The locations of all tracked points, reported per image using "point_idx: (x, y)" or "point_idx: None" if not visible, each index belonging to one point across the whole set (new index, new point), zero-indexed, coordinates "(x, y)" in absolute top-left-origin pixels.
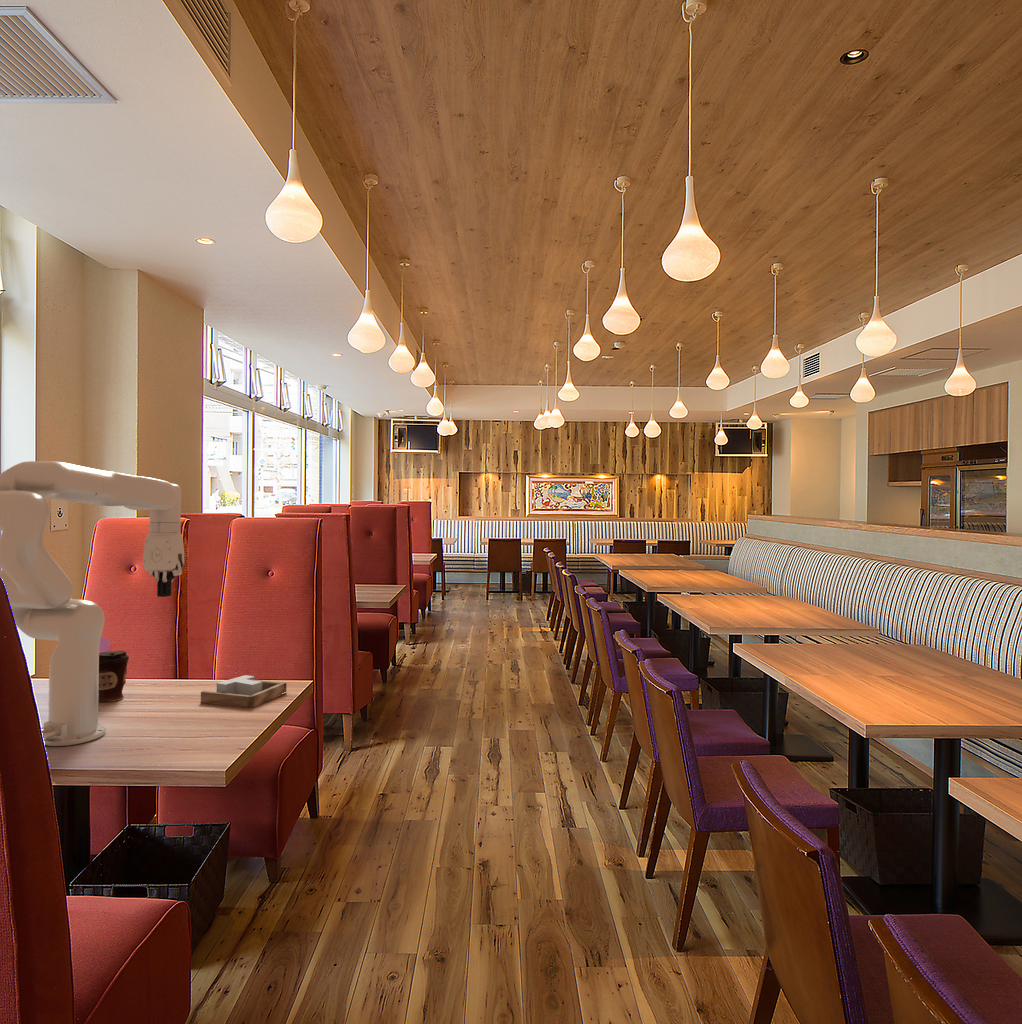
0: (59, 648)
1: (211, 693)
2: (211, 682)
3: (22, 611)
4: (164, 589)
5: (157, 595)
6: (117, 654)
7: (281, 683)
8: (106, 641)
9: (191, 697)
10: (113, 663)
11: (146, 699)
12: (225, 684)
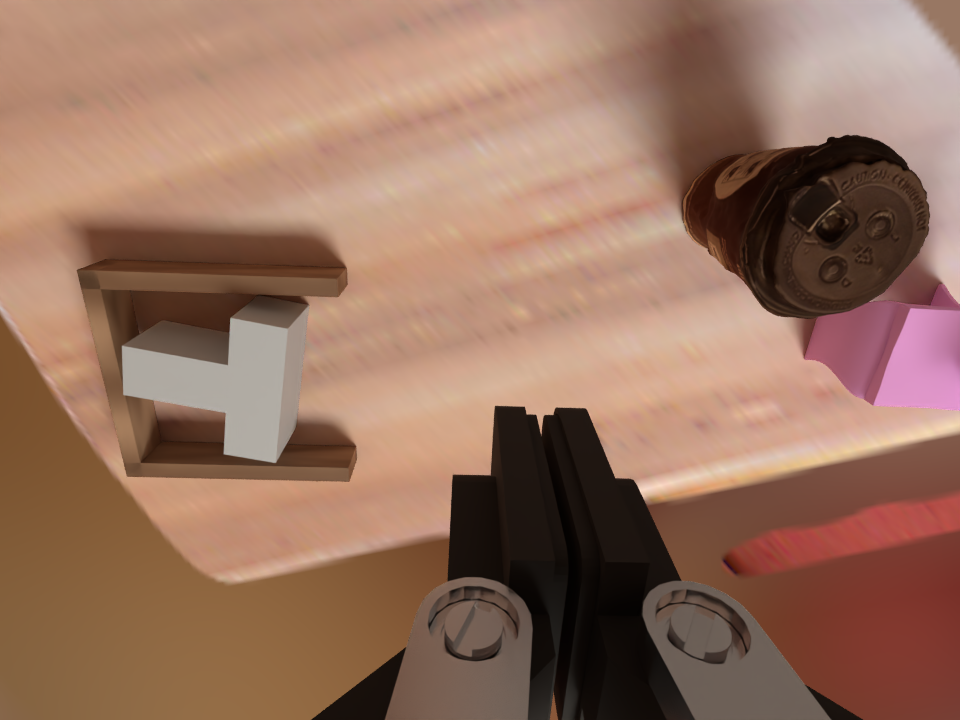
0: None
1: (281, 276)
2: None
3: None
4: (496, 506)
5: (581, 409)
6: (784, 215)
7: (136, 464)
8: None
9: (437, 319)
10: (767, 183)
11: (588, 248)
12: (231, 318)
